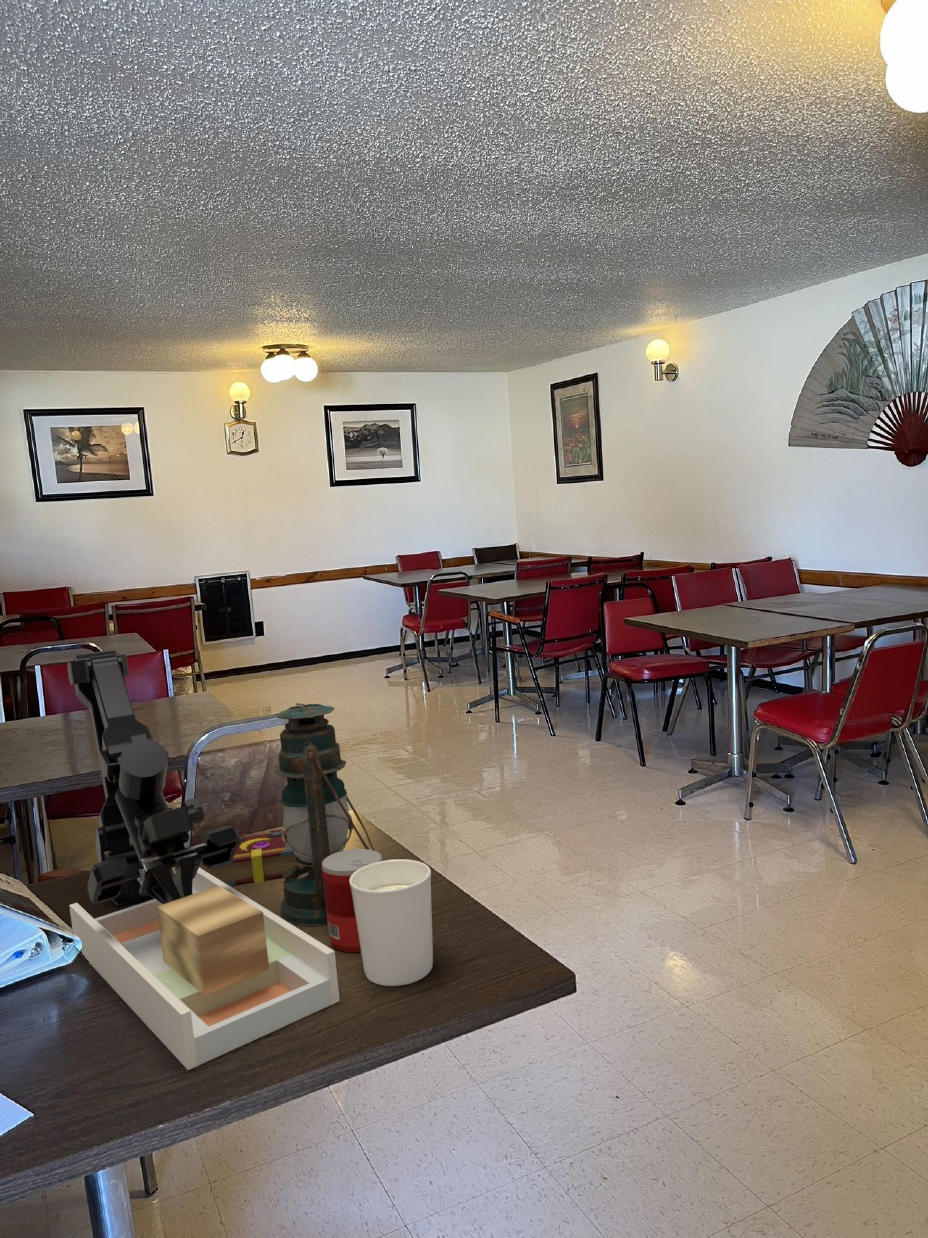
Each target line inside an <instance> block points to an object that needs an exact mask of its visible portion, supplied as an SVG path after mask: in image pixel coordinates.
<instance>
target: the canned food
mask: <svg viewBox="0 0 928 1238" xmlns="http://www.w3.org/2000/svg"><path fill="white" fill-rule="evenodd" d="M381 861H384V860H383V857H382V855H381V853H380V852H378V851H376V850H375V851H373V850H372V849H369V850H367V849H366V848H354V849H346V850H343V851H341V852H337V853H335V854H332V855H330V856H328V857H326V858H325V859H324V860H323V862H322V873H323V884H324V894H325V903H326V912H327V922H328V925H327V931H328V938H329V941H330V943H331V945H332V947H333V948H335V949H336V950H338V951H340V952H344V953H361V948H360V942H359V936H358V929H357V923H356V917H355V910H354V904H353V898H352V892H351V886H350V883H349V880H350V877H351V875H352V874H353V873H354V872H355V871H357V870H358V869H360V868H362V867H364V866H367V865H369V864H373V863H376V862H381Z"/></svg>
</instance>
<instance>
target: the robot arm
mask: <svg viewBox="0 0 928 1238" xmlns="http://www.w3.org/2000/svg"><path fill="white" fill-rule="evenodd" d="M66 668H67V675H68V680H69V684H70V685H72V686H73V685H74V690H75V694H76V697H77V699H78V700H79V701H80V702H81V703H82V704H83V705H84V706H85V707H86V708H87V709H88V710H89V714H90V718H91V722H92V730H93V734H94V741H95V748H96V752H97V759H98V764H99V768H100V774H101V779H102V786H103V791H104V796H105V802H104V804H103V805H102V806H103V807H102V809H101V811H100V814H99V816H98V827H95V851H96V856H97V861H98V863H95V864H94V865H93V867H92V868H91V870H90V874H89V878H88V883H87V885H86V887H87V894H88V896H89V899H90V902H91V905H92V904H93V905H98V904H102V903H104V902H108V901H111V902H113V904H115V905H116V906H117V907H122V906H125V905H128V904H132V903H135V902H138V901H141V900H144V899H147V898H149V897H151V898H153V899H156V900H157V901H159V902H160V903H162V904H166V903H169V902H172V901H175V900H178V899H181V898H184V897H187V896H189V895H192V881H193V879H194V878H195V876H196V873H197V871H198V868H200V866H201V864H202V866H204V867H209V868H208V869H212V867H215V866H218V865H222V864H225V863H228V862H229V861H231V860H232V859H233V857H234V855H235V853H236V850H237V848H238V846H239V843H240V841H241V839H240V834H239V833H238V830H237V829H236V828H234V827H233V826H231V825H226V826H222V827H218V828H215V829H211V830H208V831H205V832H204V835H203V837H202V839H201V843H198V844H194V845H192V846H187V847H186V845H185V844H186V843H188V842H189V840H190V835H189V833H190V832H193V831H194V830H195V829H194V826H195V825H199V824H200V823H202V822H204V820H205V812H204V809H203V806H202V804H201V802H200V800H199V798H198V797H193V798H190V799H186V800H184V801H183V802H182V803H180V806H179V807H177V808H176V807H175V808H173V807H172V806H171V807H169V805H168V802H167V800H166V798H165V796H164V793H163V791H164V789H165V786H166V776H167V771H168V770H167V769H168V762H169V761H170V759H169V751H168V750H166V749H165V747H163V746H162V745H161V744H160V743H159V742H158V740H154V739H153V736H152V734H151V731H150V728H149V726H147V725H146V724H144V723H142V722H141V721H140V720H137V717H136V715H135V711H134V708H133V705H132V701H131V698H130V695H129V692H128V689H127V685H126V681H125V678H127V677H130V671H129V664H128V656H127V654H120V652H119V653H117V651H116V650H115V649H111V650H104V651H103V650H102V651H96V652H94V651H93V652H88V653H79V654H74V660H73V661H69V662H67V667H66ZM171 869H172V871H173V875H174V876H172V871H171Z"/></svg>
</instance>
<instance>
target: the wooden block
mask: <svg viewBox="0 0 928 1238" xmlns="http://www.w3.org/2000/svg"><path fill="white" fill-rule="evenodd" d="M157 911H158V919H159V927H160V935H161V943H162V951H163V960H164V962H165V963H166V964H167V965H169V966H170V967H171V968H172V969H174V970H175V971H176V972H177V973H178V974H180V975H181V976H182V977H183V978H184V979H186V980H187V981H188V982H189V983H190V984H192V985H193V986H194V987H195V988H196V989H198V990H199V991H200V992H201V993H202V994H204V995H208V994H210V993H213V992H215V991H217V990H220V989H222V988H224V987H227V986H229V985H232V984H234V983H236V982H239V981H241V980H244V979H246V978H248V977H251V976H253V975H255V974H258V973H260V972H263V971H265V970H267V969H269V962H268V953H267V944H266V935H265V926H264V916H263V912H262V911H261V910H259V909H257V908H256V907H254V906H252V905H251V904H249V903H247V902H246V901H244V900H242V899H240V898H239V897H237V896H235V895H234V894H232V893H230V892H229V891H227V890H225V889H224V888H222V887H220V886H216V887H213V888H210V889H207V890H204V891H201V892H198V893H195V894H192V895H189V896H187V897H184V898H181V899H178V900H175V901H172V902H169V903H166V904H163V905H160V906H157Z"/></svg>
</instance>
